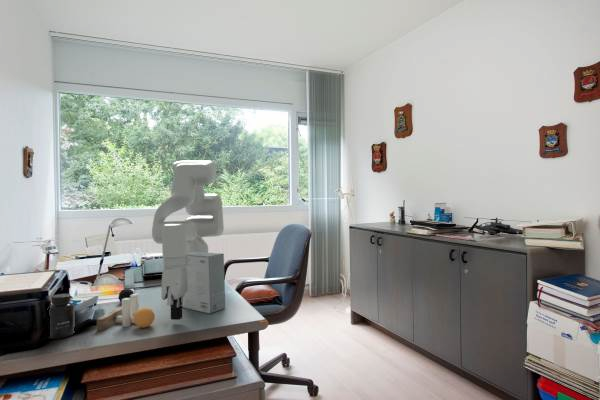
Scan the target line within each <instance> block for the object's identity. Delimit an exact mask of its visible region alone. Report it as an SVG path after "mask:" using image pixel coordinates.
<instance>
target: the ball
mask: <svg viewBox="0 0 600 400" xmlns="http://www.w3.org/2000/svg"><path fill="white" fill-rule="evenodd" d="M154 321H155V312H154V311H153V309H152V308H149V307H142V308H140V309H139V310H138V311H137V312H136V313H135V315H134V322H135V323H134V324H135V325H136V326H137V327H139V328H148V327H149V326H151V325H152V324H153V322H154Z"/></svg>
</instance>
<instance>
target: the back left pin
mask: <svg viewBox="0 0 600 400" xmlns="http://www.w3.org/2000/svg"><path fill="white" fill-rule="evenodd" d="M121 306H122V323H121V325H122V327H123V328H127V327H130V326H132V323H131V303H130V298H124V299H122V302H121Z"/></svg>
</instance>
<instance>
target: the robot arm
mask: <svg viewBox="0 0 600 400" xmlns="http://www.w3.org/2000/svg"><path fill="white" fill-rule="evenodd" d="M171 168H172V173H173V176H172V183H171V188H170V189H171V190H170V196H169V197H167V198H166V199H165V200H164V201H162V203H161V204H160V205H159V206H158V208H157V209H156V211H155V213H154V216H153V221H152V228H151V236H152V240H153V241H154V243H156V244H158V245H159V244H161V247H162V248H161V249H162V250H161V251H162V253H161V254H162V268H163V269H162V275H161V299H162V300H163V301H164V300H166V304H167V305H169V307H170V319H171V320H173V321H174V320H176V321H177V320H178V321H179V320H182V319H183V307H182V304H183V297H184V295H185V293H186V292H187V289H188V282H187V270H186V266H187V253H190V252H209V246H208V243H207V242H206V241H205V239H203V238H209V237H212V238H213V237H219V236H221V235H223V233H224V227H225V226H224V225H225V224H224V213H223V212H224V211H223V210H224V209H223V202H222V198H221V196H220V195H219V194H218V193H205V191H204V185H205V186H206V185H207V186H208V185H212V184H213V183H214V181H215V179H216V178H217V177H216V176H217V165H216V164H215V162H214V161H213V160H177V161H175V162H173V164H172V166H171ZM183 209H185V211H186V213H187V215H190V217H187V218H186V219H185V220H181V221H180V220H179V221H178V220H176V221H174V220H173V221H172V220H171V221H170V220H169V221H165V220H166V219H167V218H168V217H169V216H170V215H172V214H174V213H176V212H178V211H180V210H183Z"/></svg>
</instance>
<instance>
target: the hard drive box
mask: <svg viewBox="0 0 600 400" xmlns="http://www.w3.org/2000/svg"><path fill="white" fill-rule="evenodd" d="M186 270H187V282H188V289H187V292H186V293H185V295H184V297H183V304H182V305H181V306H182V309H188V310H193V311H197V312H201V313H204V314H205V313H206V314H213V313H215V312H219V311H221V310H224V309H225V308H226V289H225V288H226V287H225V286H226V283H225V255H224V253H221V252H210V251H208V252H190V253H187V266H186Z"/></svg>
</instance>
